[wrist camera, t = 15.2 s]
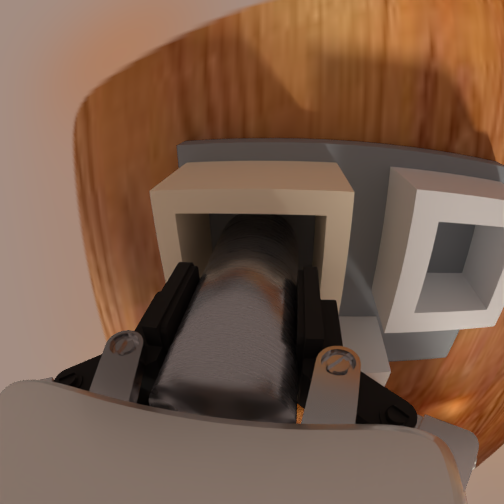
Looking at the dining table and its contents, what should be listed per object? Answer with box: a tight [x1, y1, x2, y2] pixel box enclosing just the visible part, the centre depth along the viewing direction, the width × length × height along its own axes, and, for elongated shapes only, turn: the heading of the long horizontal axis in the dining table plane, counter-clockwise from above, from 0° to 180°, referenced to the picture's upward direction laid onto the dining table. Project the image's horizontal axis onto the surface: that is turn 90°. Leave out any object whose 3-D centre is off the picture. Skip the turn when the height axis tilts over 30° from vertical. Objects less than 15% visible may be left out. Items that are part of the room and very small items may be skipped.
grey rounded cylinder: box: [149, 214, 298, 424], centre depth 12 cm, size 4×4×10 cm
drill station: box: [149, 138, 504, 387], centre depth 17 cm, size 20×16×6 cm
